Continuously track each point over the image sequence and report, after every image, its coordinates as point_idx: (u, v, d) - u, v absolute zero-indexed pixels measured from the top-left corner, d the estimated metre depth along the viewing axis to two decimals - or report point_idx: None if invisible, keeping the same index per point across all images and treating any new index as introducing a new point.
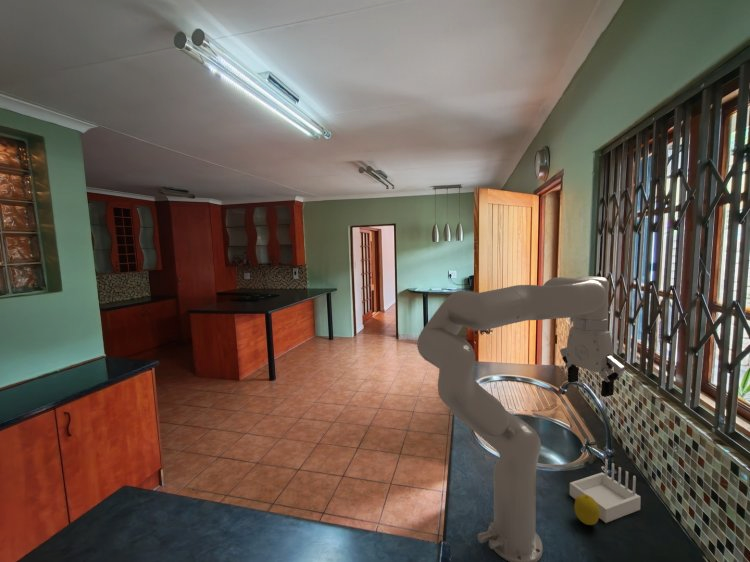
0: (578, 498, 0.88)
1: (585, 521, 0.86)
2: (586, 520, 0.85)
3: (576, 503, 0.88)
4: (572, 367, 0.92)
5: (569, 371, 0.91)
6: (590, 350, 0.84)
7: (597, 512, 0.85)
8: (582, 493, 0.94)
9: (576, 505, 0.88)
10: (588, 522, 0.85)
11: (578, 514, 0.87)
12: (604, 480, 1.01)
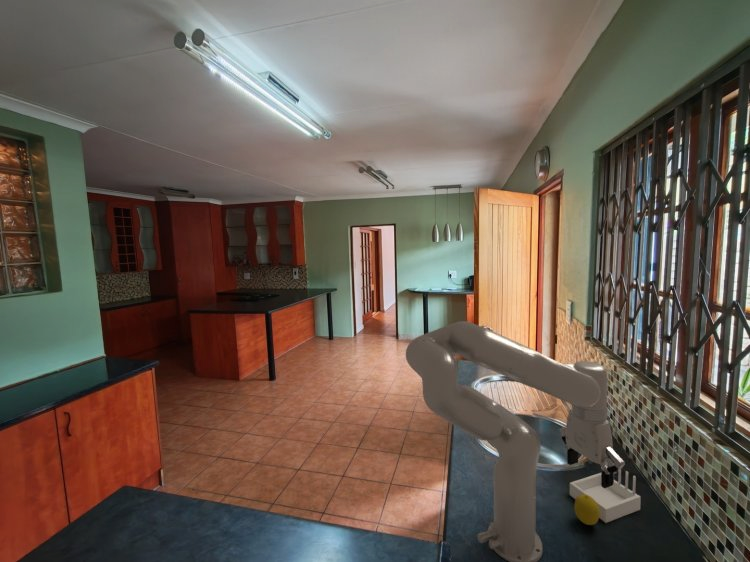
0: (578, 498, 0.88)
1: (585, 521, 0.86)
2: (586, 520, 0.85)
3: (576, 503, 0.88)
4: (572, 449, 0.91)
5: (569, 453, 0.91)
6: (589, 440, 0.83)
7: (597, 512, 0.85)
8: (582, 493, 0.94)
9: (576, 505, 0.88)
10: (588, 522, 0.85)
11: (578, 514, 0.87)
12: None
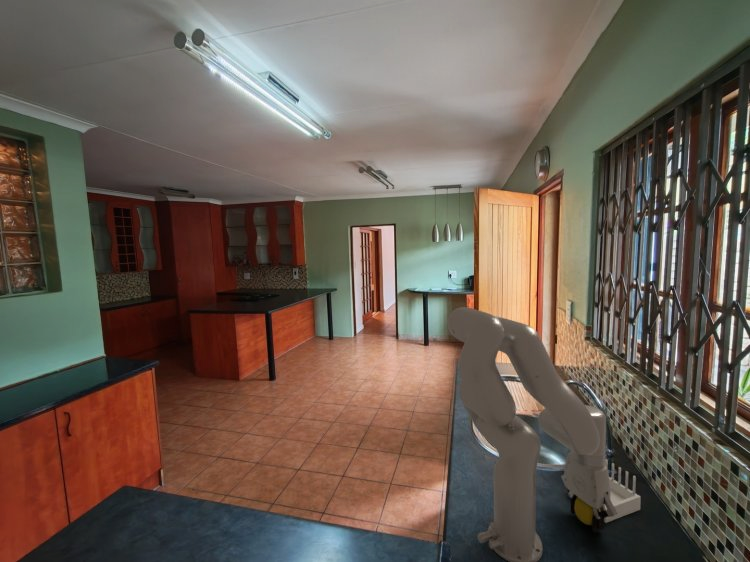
0: (578, 498, 0.88)
1: (585, 521, 0.86)
2: (586, 520, 0.85)
3: (576, 503, 0.88)
4: (575, 497, 0.90)
5: (572, 502, 0.90)
6: (587, 485, 0.84)
7: None
8: None
9: (576, 505, 0.88)
10: (588, 522, 0.85)
11: (578, 514, 0.87)
12: None
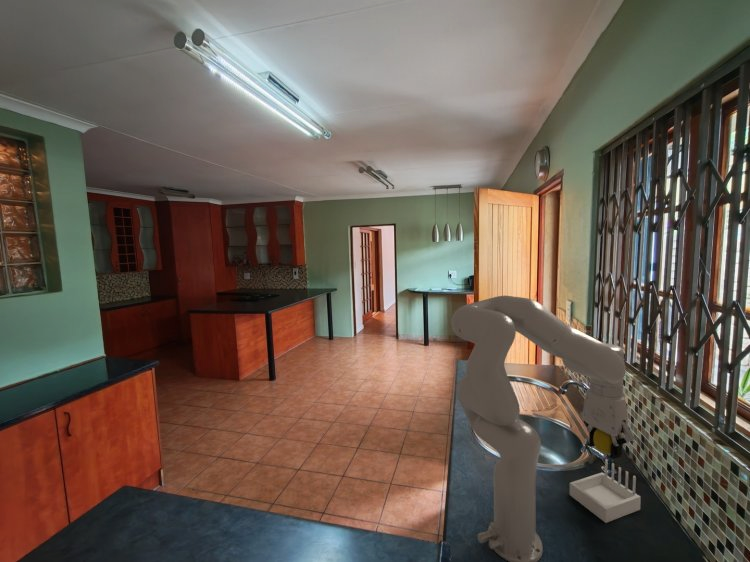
0: (597, 430, 0.94)
1: (604, 450, 0.92)
2: (605, 449, 0.92)
3: (595, 434, 0.94)
4: (594, 430, 0.96)
5: (591, 435, 0.96)
6: (606, 415, 0.90)
7: None
8: (582, 493, 0.94)
9: (595, 436, 0.94)
10: (607, 450, 0.92)
11: (597, 444, 0.93)
12: (604, 480, 1.01)
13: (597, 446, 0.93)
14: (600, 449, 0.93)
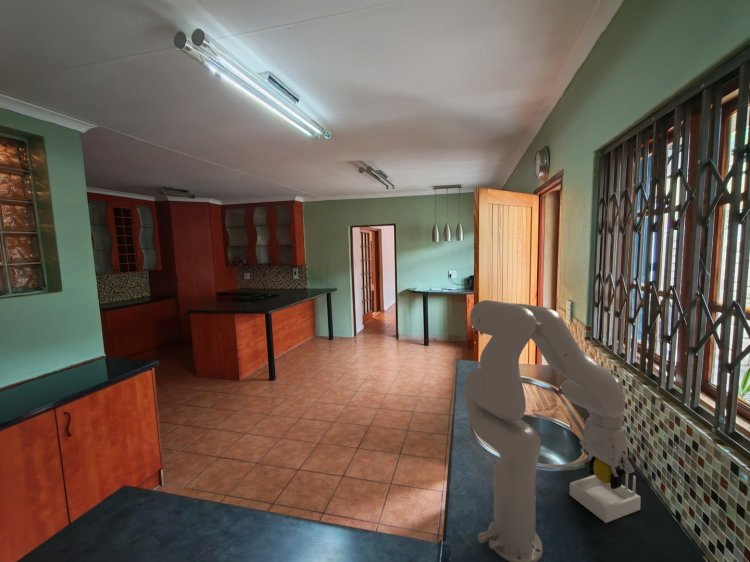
0: (597, 459, 0.95)
1: (604, 479, 0.93)
2: (605, 479, 0.92)
3: (595, 464, 0.95)
4: (594, 459, 0.97)
5: (591, 464, 0.97)
6: (606, 445, 0.91)
7: None
8: (582, 493, 0.94)
9: (595, 465, 0.95)
10: (607, 480, 0.92)
11: (597, 474, 0.94)
12: None
13: (597, 475, 0.94)
14: (600, 479, 0.94)
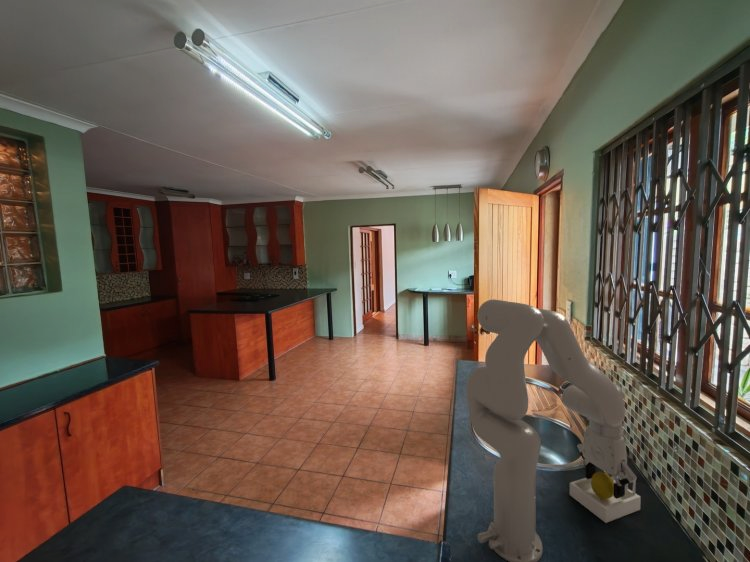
0: (594, 475, 0.96)
1: (601, 495, 0.93)
2: (602, 494, 0.93)
3: (593, 479, 0.95)
4: (590, 464, 0.98)
5: (587, 468, 0.98)
6: (606, 454, 0.91)
7: (612, 487, 0.93)
8: (582, 493, 0.94)
9: (593, 481, 0.95)
10: (604, 496, 0.93)
11: (595, 489, 0.95)
12: None
13: (595, 491, 0.95)
14: (598, 494, 0.94)
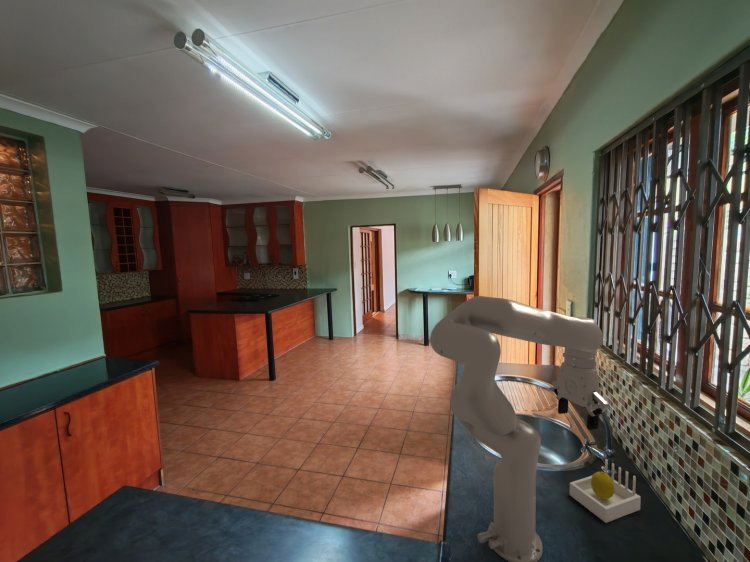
0: (594, 475, 0.96)
1: (601, 495, 0.93)
2: (602, 494, 0.93)
3: (593, 479, 0.95)
4: (562, 399, 0.99)
5: (559, 403, 0.99)
6: (578, 385, 0.91)
7: (612, 487, 0.93)
8: (582, 493, 0.94)
9: (593, 481, 0.95)
10: (604, 496, 0.93)
11: (595, 489, 0.95)
12: None
13: (595, 491, 0.95)
14: (598, 494, 0.94)
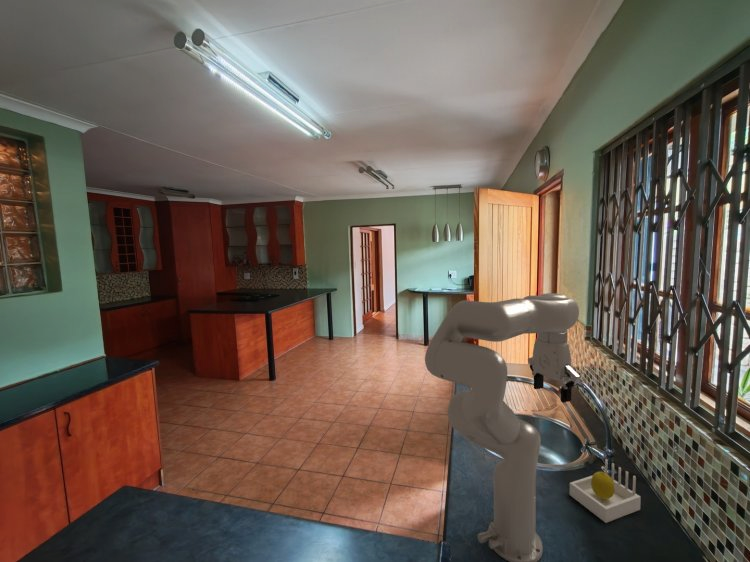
0: (595, 475, 0.96)
1: (601, 495, 0.93)
2: (602, 495, 0.93)
3: (593, 479, 0.95)
4: (537, 375, 1.01)
5: (535, 378, 1.01)
6: (551, 360, 0.93)
7: (612, 487, 0.93)
8: (582, 493, 0.94)
9: (593, 481, 0.95)
10: (604, 496, 0.93)
11: (595, 489, 0.94)
12: None
13: (595, 491, 0.95)
14: (598, 494, 0.94)
